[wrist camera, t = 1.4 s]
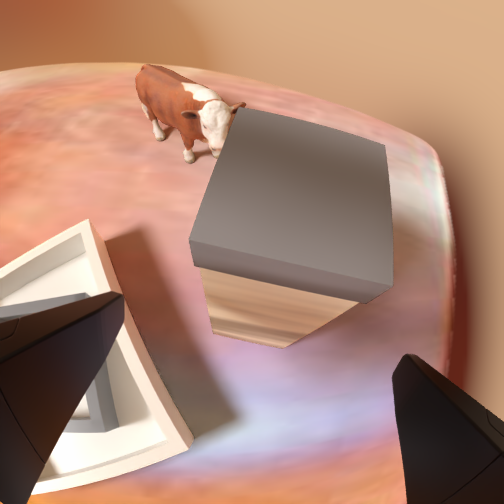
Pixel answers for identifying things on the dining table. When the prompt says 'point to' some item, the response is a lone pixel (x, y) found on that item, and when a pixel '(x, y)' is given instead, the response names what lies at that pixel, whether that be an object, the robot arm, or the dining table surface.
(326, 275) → the wooden block
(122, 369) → the walled box
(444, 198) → the dining table surface
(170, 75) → the bull figurine
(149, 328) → the dining table surface
